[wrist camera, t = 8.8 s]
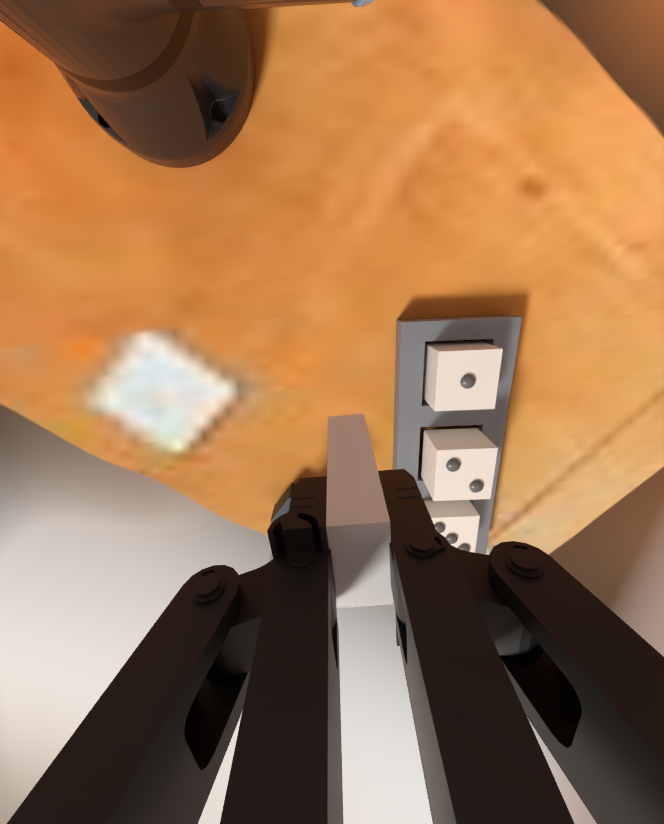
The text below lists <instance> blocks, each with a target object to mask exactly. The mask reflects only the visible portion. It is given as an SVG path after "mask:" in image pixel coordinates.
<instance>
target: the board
mask: <svg viewBox="0 0 664 824" xmlns="http://www.w3.org/2000/svg"><path fill="white" fill-rule="evenodd" d="M521 321H522V317H518V316H512V315H501V316H478V317H456V318H434V319H412V320H397V322H396V363H395V403H394V444H393V470H396V469H405V470H406V471H407V472H409V473H410V474H411V475H412V476H413V477H414V478H415V481H416V483H417V485H418V489H419V490H420V493H421V495H422V498H432V497H431V495H430V493H429V491H428V489H427V487H426V485H425V483H424V481H423V479H422V477H421V471H422V470H418V462H419V444H420V427H438V426H463V425H473V428H478V429H479V430H480V431H481V432H482V433H483V434H484V435H485V436H486V437H487V438H488V439H489V440H490V441H491V442H492V443H493V444H494V445H495V446H496V447H498V451H497V458H496V465H495V471H494V478H493V485H492V492H491V498H490V499H477V500H470V502H471V503H472V505H473V506H474V508H475V509H476V511H477V512H478V514H479V515H480V519H479V526H478V533H477V540H476V548H475V553H480V554H486V549H487V543H488V536H489V530H490V523H491V516H492V510H493V503H494V497H495V490H496V484H497V477H498V471H499V464H500V458H501V451H502V445H503V438H504V432H505V425H506V419H507V412H508V406H509V399H510V392H511V386H512V379H513V373H514V366H515V360H516V353H517V347H518V340H519V334H520V327H521ZM473 339H483V342H485V343H488V344H491V345H494V346H496V347H499V348H502V349H503V352H502V359H501V366H500V374H499V381H498V388H497V395H496V403H495V409H480V410H456V411H434V410H433V409H432V408H431V407H430V405H429V404H428V403H427V402H426V401H425V399H422V390H423V371H424V353H425V342H427V341H450V340H473Z"/></svg>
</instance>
